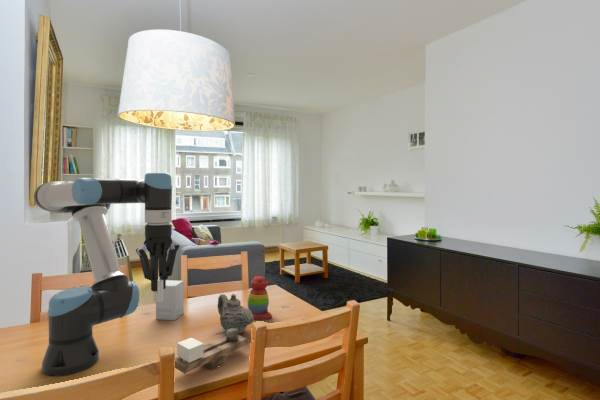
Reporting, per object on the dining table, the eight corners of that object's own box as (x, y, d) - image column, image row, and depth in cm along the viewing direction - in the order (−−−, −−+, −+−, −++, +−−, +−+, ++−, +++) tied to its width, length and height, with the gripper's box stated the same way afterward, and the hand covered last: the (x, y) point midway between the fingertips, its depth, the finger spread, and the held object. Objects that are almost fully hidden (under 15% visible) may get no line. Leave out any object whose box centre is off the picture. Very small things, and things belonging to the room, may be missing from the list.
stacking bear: (273, 318, 149) (273, 278, 149) (250, 321, 146) (251, 280, 145) (266, 310, 159) (266, 272, 159) (245, 313, 156) (245, 274, 155)
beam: (184, 383, 99) (184, 356, 99) (171, 375, 103) (171, 349, 103) (247, 353, 118) (247, 330, 118) (233, 346, 123) (233, 324, 122)
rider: (189, 369, 100) (189, 349, 100) (177, 362, 104) (177, 342, 104) (203, 362, 104) (203, 343, 104) (191, 356, 108) (191, 337, 108)
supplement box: (184, 313, 154) (184, 280, 154) (175, 320, 145) (175, 286, 145) (165, 312, 155) (165, 279, 155) (155, 319, 146) (155, 285, 146)
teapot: (262, 334, 133) (262, 296, 133) (238, 344, 124) (239, 303, 124) (229, 319, 147) (229, 285, 147) (205, 327, 139) (206, 291, 138)
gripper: (143, 226, 96) (143, 309, 96) (184, 223, 106) (184, 298, 107) (130, 224, 100) (130, 303, 101) (171, 221, 111) (171, 293, 111)
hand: (158, 300), depth 104 cm, fingers closed
